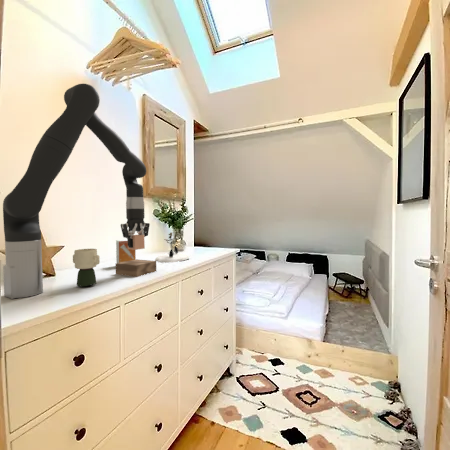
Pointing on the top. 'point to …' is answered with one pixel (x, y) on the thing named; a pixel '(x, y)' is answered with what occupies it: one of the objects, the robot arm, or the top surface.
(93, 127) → the robot arm
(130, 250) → the small box
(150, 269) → the walnut block
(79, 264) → the character mug
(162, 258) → the figurine
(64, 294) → the top surface
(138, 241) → the terracotta block
